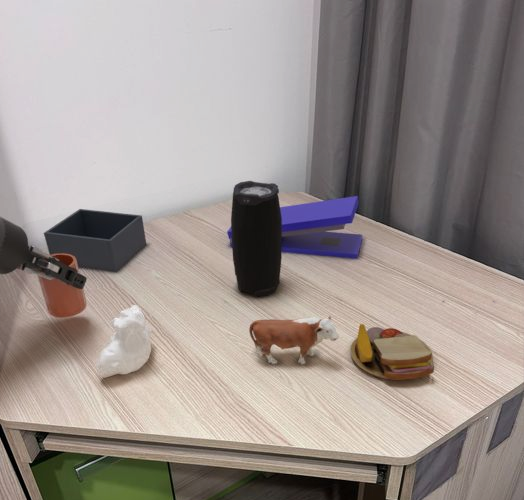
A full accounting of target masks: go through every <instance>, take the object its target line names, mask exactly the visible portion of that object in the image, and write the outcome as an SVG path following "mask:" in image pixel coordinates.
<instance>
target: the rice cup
mask: <svg viewBox="0 0 524 500" xmlns="http://www.w3.org/2000/svg"><path fill="white" fill-rule="evenodd" d="M49 255H50V254H49ZM50 256H52V257H54V258H57V259H58V260H59V261H60V262H62V263H64V264H66V265H68V266H70V267H72V268H75V269H76V270H78V272H77V273H79V274H81V273H80V270H79V267H78V264H77V260H76V258H75V257H74V256H73V255H70V254H64V253H61V254H52V255H50ZM44 258H45V257H44ZM46 259H47V258H46ZM47 260H48V259H47ZM38 272H39V271H38ZM41 273H43V272H41ZM43 274H45V273H43ZM36 276H37V279H38V283H39V286H40V289H41V293H42V296H43V300H44V304H45V306H46V310H47V313H48V315H50V316H51V317H54V318H62V319H63V318H64V319H65V318H70V317H74V316H76V315H79V314H81V313H82V312H83V311H85V309H86V308H87V304H88V303H87V298H86V294H85V290H84V288H83V289H78V288H76V287H74V286H71V285H67V284H66V283H61V281H59V280H56V279H54V278H53V279H52V280H49V279H46V278H43V277H41V276H38V275H36Z"/></svg>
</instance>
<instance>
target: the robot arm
mask: <svg viewBox="0 0 524 500" xmlns="http://www.w3.org/2000/svg"><path fill="white" fill-rule="evenodd" d="M44 257H45V258H44ZM46 258H47V259H48V260H47V259H46ZM15 270H19V271H22V272H25V273H27V274H30V275H36V276H37V275H38V276H41V277H43V278H46V279H49V280H52V279H53V278H54V279H56V280H59V281H61V283H66V284H67V285H71V286H74V287H76V288H78V289H83V290H84V287H85V285H86V283H87V279H88V277H87V276H85V275H83V274H81V273H80V272H79V273H80V274H79V273H77V272H78V270H76V269H75V268H72V267H70V266H68V265H66V264H64V263H62V262H60V261H59V260H58V259H57V258H54V257H52V256H50V254H49V253H48V254H47V253H45V252H44V251H43V250H42V249H40V248H38V247H36V246H34V245H29V238H28V235H27V233H26V231H25V230H24V229H23V228H22V227H21V226H20V225H17V224H15V223H13V222H11V221H9V220H7V219H6V218H4V217H2V216H0V275H7V274H10V273H12V272H14V271H15ZM38 271H39V272H38ZM41 272H43V273H45V274H43V273H41ZM38 276H37V277H38Z"/></svg>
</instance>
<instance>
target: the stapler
mask: <svg viewBox="0 0 524 500" xmlns="http://www.w3.org/2000/svg"><path fill="white" fill-rule="evenodd" d="M359 204H360V203H359V196H358V195H355V196H348V197H341V198H340V197H339V198H334V199H327V200H320V201H314V202H307V203H301V204H300V203H299V204H293V205H285V206H280V211H281V217H282V253H291V254H302V255H312V256H323V257H334V258H344V259H345V258H346V259H356V260H357V259H358V258H359V253H360V249H361V245H362V239H363V234H361V233H347V232H336V231H339V230H344V229H345V226H346V225H349V224H352V223H353V222H354V218H355V215H356V212H357V210H358V207H359ZM226 234H227V237H228V239H229V247H230V248H232V233H231V226H230V227H229V229H228V230H227V231H226Z"/></svg>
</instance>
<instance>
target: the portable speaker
mask: <svg viewBox="0 0 524 500" xmlns="http://www.w3.org/2000/svg"><path fill="white" fill-rule="evenodd" d="M279 194H280V189H279V185H277V184H276V183H275V182H274V183H272V182H271V183H266V182H257V181H253V180H246V181H240V182H238V183H236V184H235V185H234V187H233V192H232V201H231V212H230V214H231V216H230V227H231V233H232V247H231V248H232V263H233V265H234V266H233V268H234V269H233V270H234V275H235V277H236V283H237V290H238V291H239V293H242V292H244V293H248V294H251V295H254V297H257V298H265V297H269V296H272V295H274V294H276V291H277V288H278V287H279V285H280V281H281V280H280V279H281V268H282V257H283V255H282V254H283V252H282V217H281V211H280V207H281V204H280V199H279Z"/></svg>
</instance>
